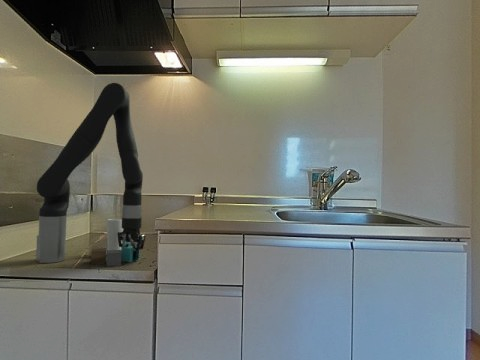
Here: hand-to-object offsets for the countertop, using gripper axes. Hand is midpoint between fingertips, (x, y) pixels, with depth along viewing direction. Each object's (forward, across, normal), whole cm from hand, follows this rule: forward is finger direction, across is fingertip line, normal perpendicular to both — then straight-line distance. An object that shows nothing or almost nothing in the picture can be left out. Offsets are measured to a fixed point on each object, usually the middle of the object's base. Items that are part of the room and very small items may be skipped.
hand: (130, 259), depth 133 cm
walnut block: (+1, -7, -9) cm, 12 cm away
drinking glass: (+1, -13, +3) cm, 13 cm away
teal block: (0, 0, 0) cm, 0 cm away
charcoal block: (+1, +1, -8) cm, 9 cm away
